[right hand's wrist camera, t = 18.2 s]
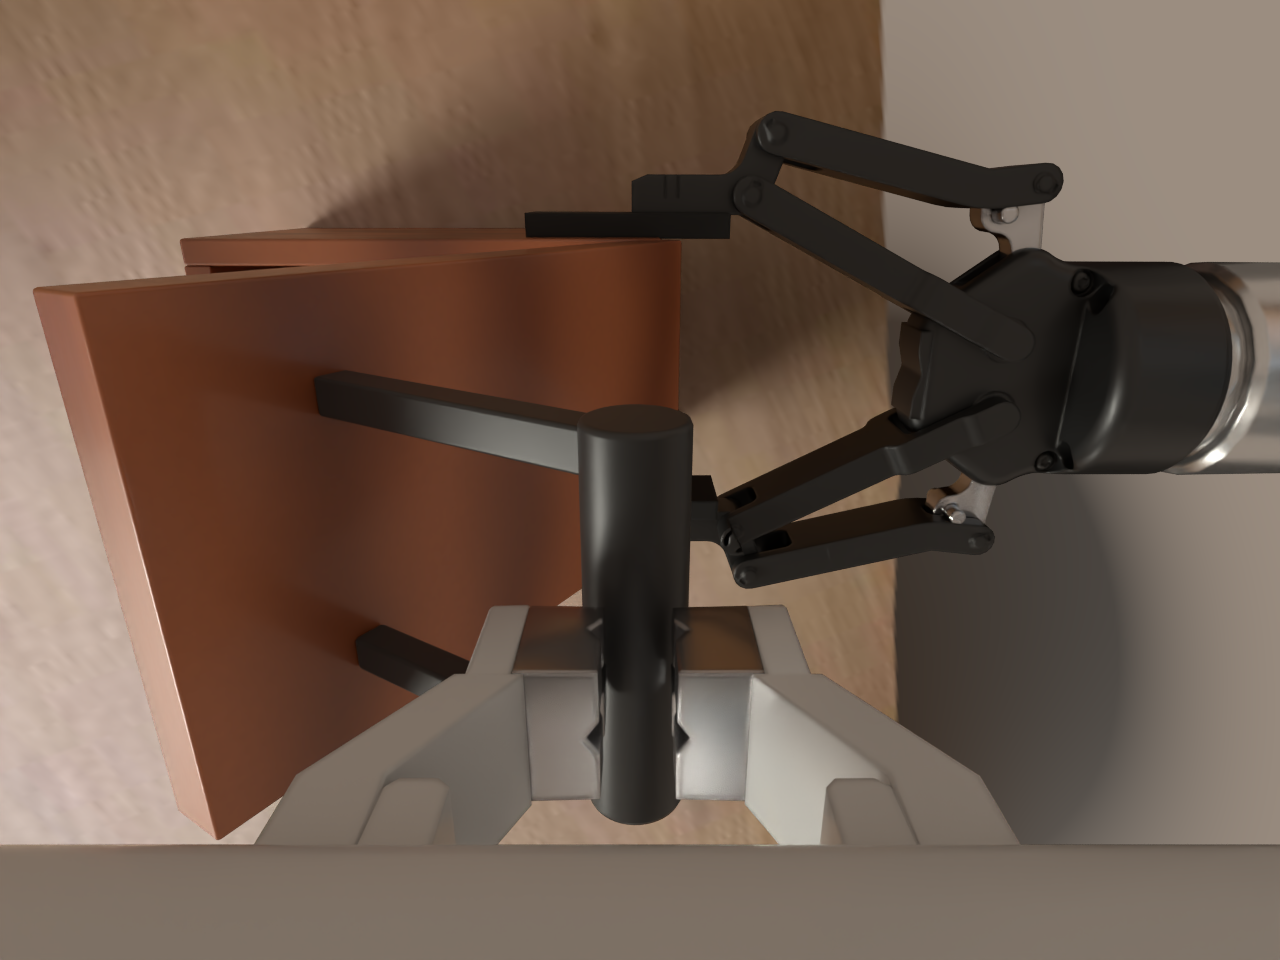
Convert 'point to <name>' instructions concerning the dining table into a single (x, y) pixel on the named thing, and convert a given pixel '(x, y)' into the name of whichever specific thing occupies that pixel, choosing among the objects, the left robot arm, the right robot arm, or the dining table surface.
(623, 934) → the right robot arm
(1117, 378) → the left robot arm
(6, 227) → the dining table surface
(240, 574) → the lid
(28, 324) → the dining table surface
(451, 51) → the dining table surface
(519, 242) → the chest
